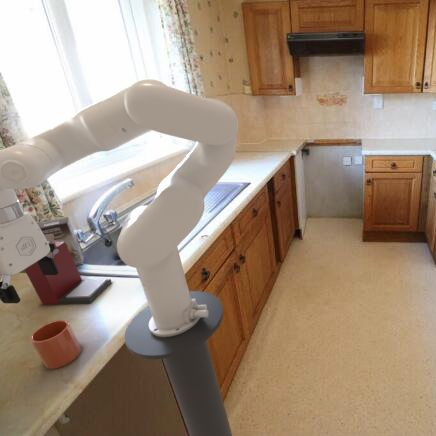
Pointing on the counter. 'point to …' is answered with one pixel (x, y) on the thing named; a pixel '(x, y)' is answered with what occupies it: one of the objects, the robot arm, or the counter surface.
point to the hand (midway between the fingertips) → (33, 287)
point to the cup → (56, 344)
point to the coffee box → (63, 236)
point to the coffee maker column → (55, 276)
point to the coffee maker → (84, 290)
